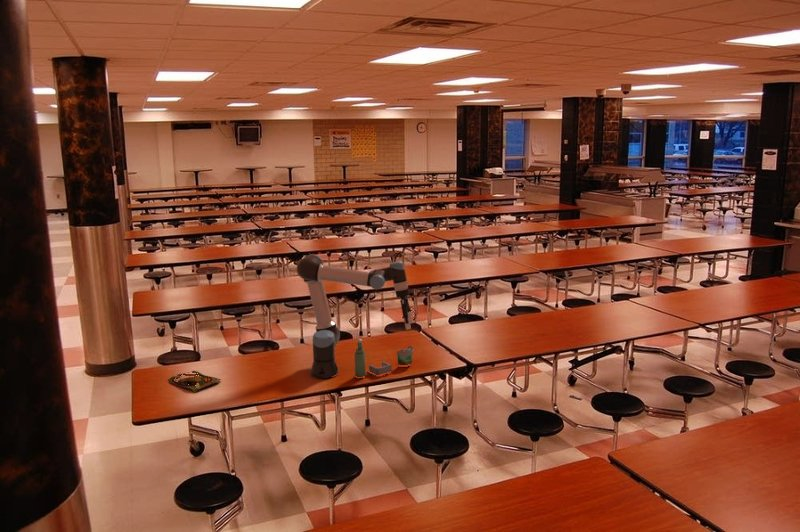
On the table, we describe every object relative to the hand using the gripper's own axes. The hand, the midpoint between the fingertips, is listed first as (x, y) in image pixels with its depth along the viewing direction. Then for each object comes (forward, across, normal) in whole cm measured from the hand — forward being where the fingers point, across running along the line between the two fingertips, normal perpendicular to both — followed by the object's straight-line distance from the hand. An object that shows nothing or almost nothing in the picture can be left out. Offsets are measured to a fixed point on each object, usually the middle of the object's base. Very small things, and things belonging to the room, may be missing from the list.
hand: (409, 326), depth 342 cm
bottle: (+20, -14, +30) cm, 39 cm away
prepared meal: (+3, -28, +117) cm, 120 cm away
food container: (+24, +6, +7) cm, 25 cm away
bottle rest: (+21, -6, +21) cm, 31 cm away
